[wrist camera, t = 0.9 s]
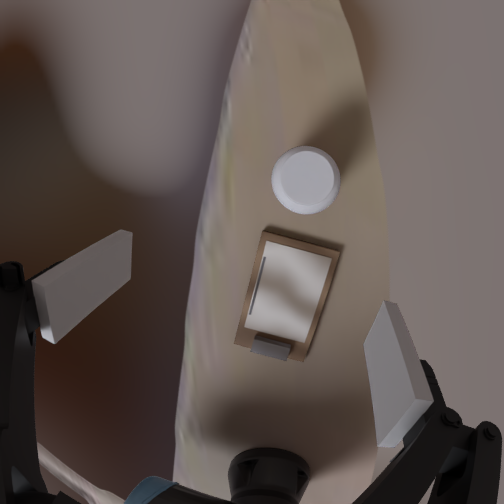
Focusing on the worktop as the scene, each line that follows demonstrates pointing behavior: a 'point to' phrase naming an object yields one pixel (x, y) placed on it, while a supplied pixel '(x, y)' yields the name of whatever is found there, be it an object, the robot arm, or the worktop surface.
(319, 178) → the supplement bottle
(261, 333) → the clipboard
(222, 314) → the worktop surface
